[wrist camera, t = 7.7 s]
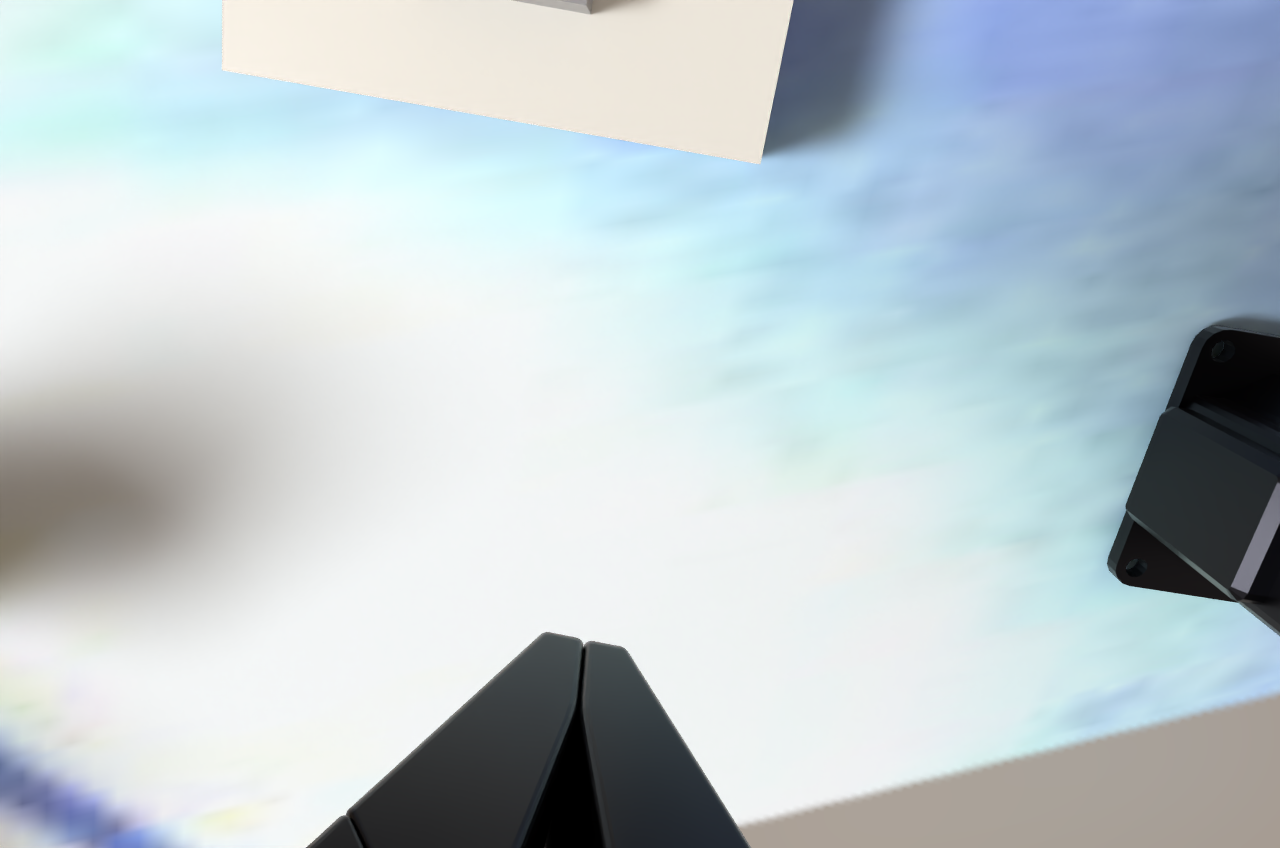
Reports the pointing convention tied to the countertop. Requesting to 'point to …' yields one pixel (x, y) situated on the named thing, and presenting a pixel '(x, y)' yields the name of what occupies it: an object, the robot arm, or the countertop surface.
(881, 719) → the countertop surface
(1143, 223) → the countertop surface
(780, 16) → the switch panel
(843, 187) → the countertop surface
